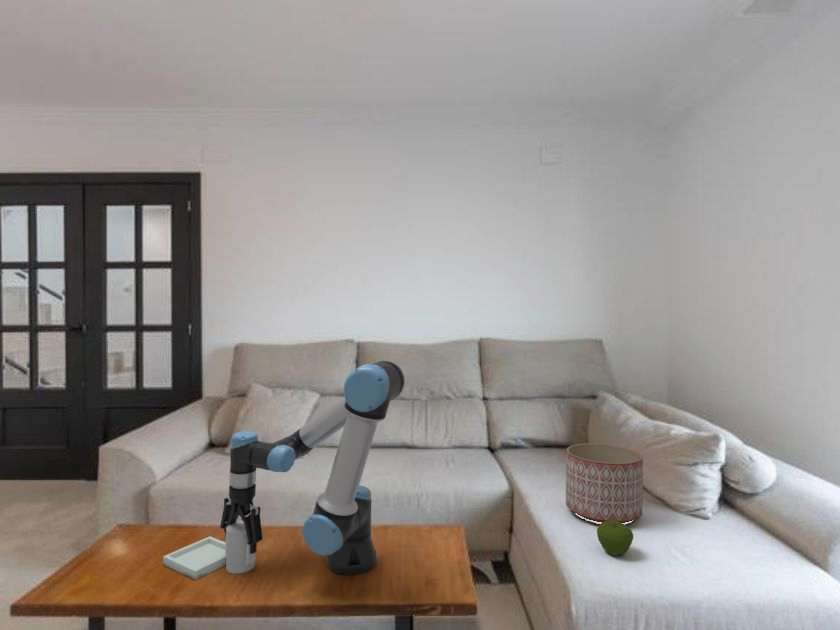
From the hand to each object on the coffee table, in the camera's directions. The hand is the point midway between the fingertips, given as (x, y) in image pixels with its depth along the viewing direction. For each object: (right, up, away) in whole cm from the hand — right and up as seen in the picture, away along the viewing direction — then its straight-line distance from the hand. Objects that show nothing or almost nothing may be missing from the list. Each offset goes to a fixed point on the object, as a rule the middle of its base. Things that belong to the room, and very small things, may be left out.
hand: (239, 557), depth 152 cm
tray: (-12, -2, +3) cm, 13 cm away
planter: (+124, -3, +40) cm, 131 cm away
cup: (0, -3, 0) cm, 3 cm away
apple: (+117, -3, +10) cm, 117 cm away
